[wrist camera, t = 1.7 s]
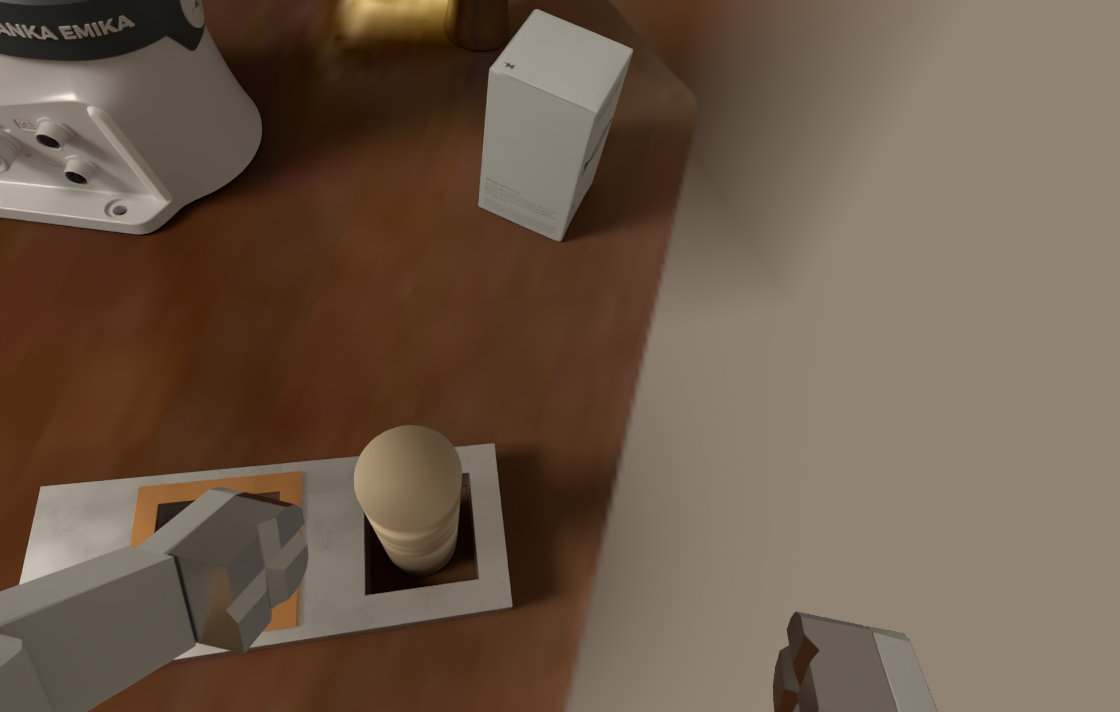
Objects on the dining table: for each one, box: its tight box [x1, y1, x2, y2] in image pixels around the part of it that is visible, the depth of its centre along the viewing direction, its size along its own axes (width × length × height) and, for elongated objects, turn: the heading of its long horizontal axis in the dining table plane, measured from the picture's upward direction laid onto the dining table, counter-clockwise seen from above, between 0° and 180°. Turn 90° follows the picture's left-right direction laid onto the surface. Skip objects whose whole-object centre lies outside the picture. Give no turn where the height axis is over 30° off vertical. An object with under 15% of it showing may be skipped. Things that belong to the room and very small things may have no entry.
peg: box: [354, 425, 462, 577], centre depth 29 cm, size 4×4×14 cm
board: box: [19, 443, 512, 665], centre depth 32 cm, size 23×9×3 cm, turn 99°
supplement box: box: [478, 9, 633, 242], centre depth 43 cm, size 7×7×13 cm
